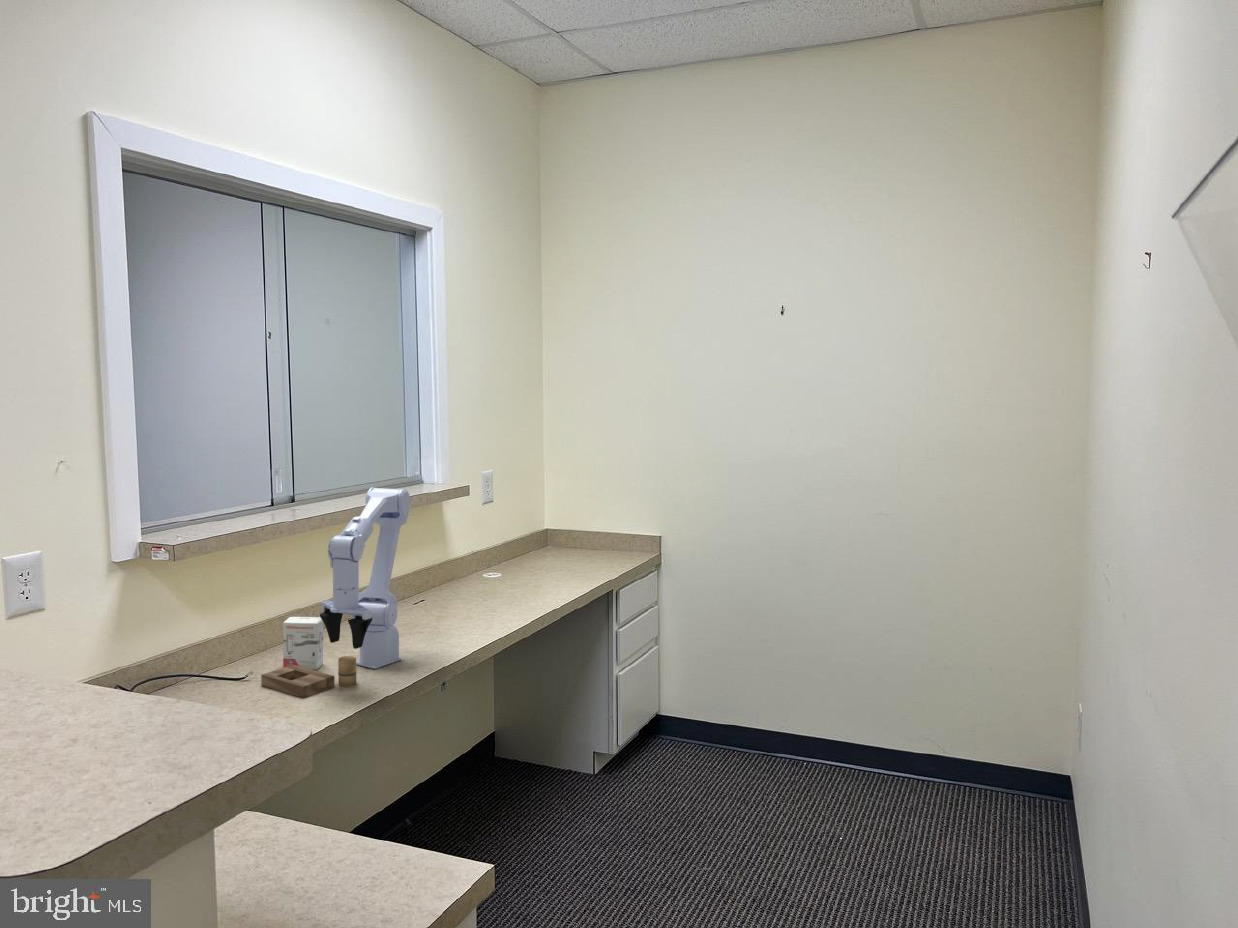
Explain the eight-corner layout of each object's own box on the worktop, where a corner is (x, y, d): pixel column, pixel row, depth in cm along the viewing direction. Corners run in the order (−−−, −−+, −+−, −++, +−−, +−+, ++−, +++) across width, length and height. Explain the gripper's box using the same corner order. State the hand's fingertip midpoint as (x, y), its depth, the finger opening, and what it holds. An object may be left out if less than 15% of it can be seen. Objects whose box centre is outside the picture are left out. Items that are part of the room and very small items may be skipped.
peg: (347, 679, 217) (347, 654, 217) (360, 682, 215) (360, 658, 214) (334, 684, 214) (334, 659, 213) (347, 687, 212) (346, 662, 211)
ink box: (281, 669, 223) (281, 621, 222) (288, 662, 228) (288, 616, 227) (317, 670, 223) (317, 622, 222) (323, 663, 228) (323, 617, 227)
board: (293, 674, 219) (293, 664, 219) (334, 686, 212) (334, 675, 212) (261, 685, 212) (261, 674, 211) (303, 697, 205) (303, 686, 204)
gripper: (310, 585, 212) (310, 643, 214) (354, 595, 205) (355, 654, 206) (334, 580, 218) (334, 635, 220) (378, 589, 211) (378, 646, 212)
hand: (346, 644), depth 213 cm, fingers open, 7 cm apart
